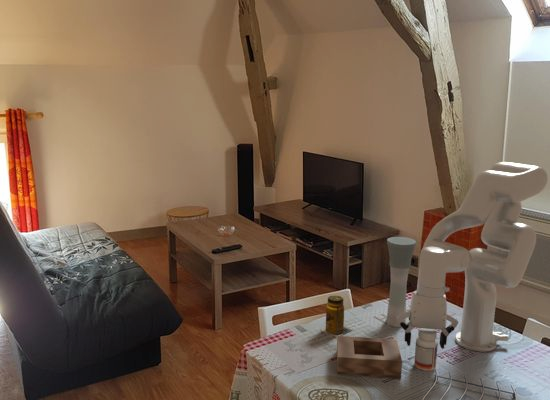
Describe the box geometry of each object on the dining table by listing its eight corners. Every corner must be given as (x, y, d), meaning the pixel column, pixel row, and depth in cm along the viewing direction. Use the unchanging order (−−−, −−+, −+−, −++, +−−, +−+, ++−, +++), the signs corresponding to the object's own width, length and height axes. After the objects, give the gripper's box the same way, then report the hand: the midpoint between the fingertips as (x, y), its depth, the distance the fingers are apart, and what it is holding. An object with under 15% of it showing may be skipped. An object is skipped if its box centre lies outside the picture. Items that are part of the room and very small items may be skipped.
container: (378, 323, 181) (382, 241, 175) (388, 314, 189) (393, 235, 182) (404, 331, 176) (409, 246, 170) (413, 321, 183) (419, 239, 177)
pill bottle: (425, 359, 158) (428, 324, 155) (440, 368, 152) (443, 333, 150) (409, 363, 155) (412, 328, 153) (423, 373, 150) (426, 337, 147)
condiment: (320, 330, 176) (321, 297, 173) (336, 323, 181) (337, 291, 179) (336, 338, 170) (337, 304, 168) (352, 330, 176) (354, 297, 173)
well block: (395, 355, 159) (396, 339, 158) (400, 378, 147) (402, 361, 145) (336, 352, 161) (337, 335, 160) (337, 374, 149) (337, 356, 147)
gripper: (458, 287, 151) (452, 341, 154) (398, 283, 153) (393, 337, 156) (464, 297, 144) (458, 353, 147) (401, 292, 146) (396, 348, 149)
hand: (424, 345), depth 152 cm, fingers open, 9 cm apart
